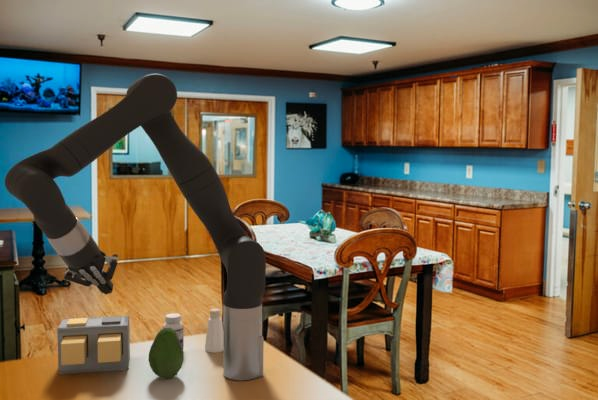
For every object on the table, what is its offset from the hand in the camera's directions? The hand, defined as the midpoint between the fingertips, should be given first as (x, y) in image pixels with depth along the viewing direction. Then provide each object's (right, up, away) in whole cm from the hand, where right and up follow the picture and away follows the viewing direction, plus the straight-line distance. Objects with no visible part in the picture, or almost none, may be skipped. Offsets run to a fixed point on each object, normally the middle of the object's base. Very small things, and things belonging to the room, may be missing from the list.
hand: (109, 291), depth 137 cm
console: (-6, -20, +9) cm, 23 cm away
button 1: (-9, -16, +3) cm, 19 cm away
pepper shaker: (+21, -19, +22) cm, 36 cm away
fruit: (+13, -21, +3) cm, 25 cm away
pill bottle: (+11, -19, +21) cm, 30 cm away
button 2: (-1, -16, +5) cm, 17 cm away
